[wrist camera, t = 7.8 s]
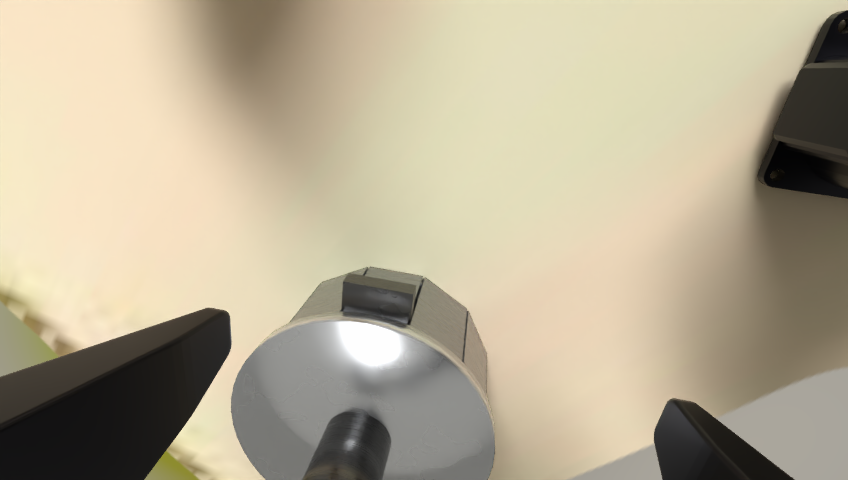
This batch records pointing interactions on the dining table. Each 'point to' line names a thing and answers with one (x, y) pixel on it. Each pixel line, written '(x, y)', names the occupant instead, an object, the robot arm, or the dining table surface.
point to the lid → (360, 404)
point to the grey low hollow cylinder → (404, 309)
